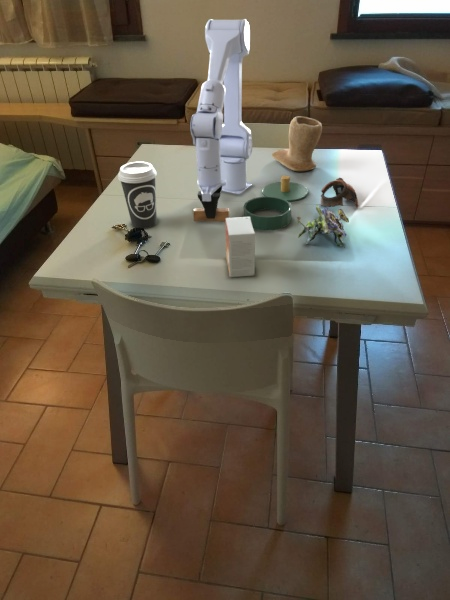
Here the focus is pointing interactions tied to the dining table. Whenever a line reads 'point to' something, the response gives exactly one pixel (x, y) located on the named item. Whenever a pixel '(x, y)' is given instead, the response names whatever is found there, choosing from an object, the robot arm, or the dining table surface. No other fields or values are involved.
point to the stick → (220, 215)
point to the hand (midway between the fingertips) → (211, 215)
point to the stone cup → (300, 144)
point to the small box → (240, 246)
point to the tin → (268, 221)
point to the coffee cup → (139, 192)
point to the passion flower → (326, 225)
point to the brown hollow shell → (339, 193)
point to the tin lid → (285, 190)
